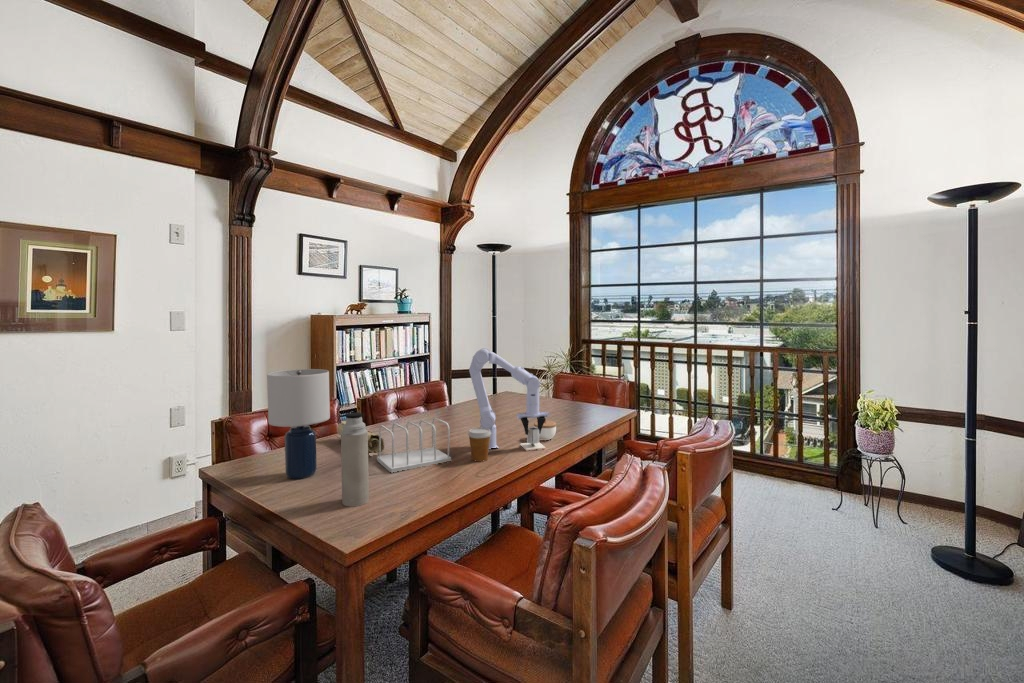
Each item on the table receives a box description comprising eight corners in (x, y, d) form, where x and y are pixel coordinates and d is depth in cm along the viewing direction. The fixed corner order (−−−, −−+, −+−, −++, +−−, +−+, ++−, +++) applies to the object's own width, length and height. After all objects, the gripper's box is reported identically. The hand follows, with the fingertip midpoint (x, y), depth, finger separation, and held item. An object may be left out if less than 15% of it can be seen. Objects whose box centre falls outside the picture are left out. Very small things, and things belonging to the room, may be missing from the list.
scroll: (358, 433, 218) (350, 415, 215) (390, 449, 193) (381, 429, 190) (338, 445, 212) (329, 427, 209) (368, 463, 187) (358, 443, 184)
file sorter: (391, 474, 168) (390, 432, 167) (376, 461, 182) (375, 423, 181) (451, 461, 182) (451, 423, 181) (433, 451, 196) (433, 415, 195)
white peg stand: (526, 451, 195) (526, 442, 195) (520, 445, 204) (520, 436, 204) (545, 449, 198) (545, 440, 197) (539, 444, 206) (539, 435, 206)
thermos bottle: (347, 496, 146) (345, 411, 145) (371, 496, 146) (370, 410, 145) (338, 506, 138) (336, 416, 137) (364, 506, 139) (363, 416, 137)
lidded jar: (531, 441, 211) (531, 421, 211) (536, 435, 222) (536, 416, 221) (553, 443, 208) (553, 423, 208) (558, 437, 218) (558, 418, 218)
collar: (529, 444, 197) (529, 430, 197) (525, 440, 202) (525, 427, 202) (540, 443, 198) (540, 429, 198) (536, 439, 203) (536, 426, 203)
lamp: (274, 469, 172) (271, 368, 170) (331, 463, 179) (329, 366, 177) (266, 488, 153) (262, 374, 151) (330, 481, 160) (327, 372, 158)
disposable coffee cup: (464, 457, 186) (464, 429, 186) (485, 454, 191) (485, 426, 190) (473, 464, 178) (473, 434, 177) (495, 460, 182) (495, 431, 182)
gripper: (519, 406, 194) (519, 437, 195) (551, 404, 198) (551, 434, 198) (515, 403, 201) (515, 433, 201) (546, 401, 204) (546, 430, 205)
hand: (532, 433), depth 200 cm, fingers closed on collar, 5 cm apart
